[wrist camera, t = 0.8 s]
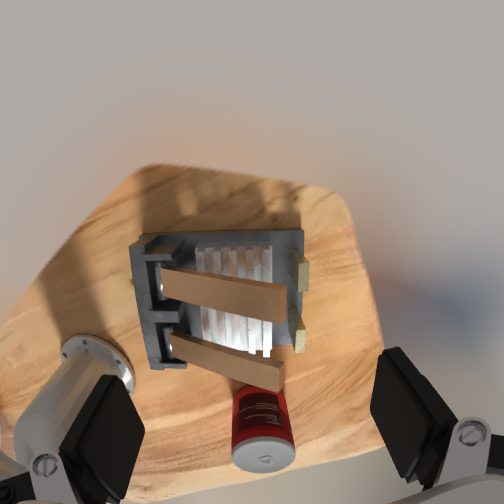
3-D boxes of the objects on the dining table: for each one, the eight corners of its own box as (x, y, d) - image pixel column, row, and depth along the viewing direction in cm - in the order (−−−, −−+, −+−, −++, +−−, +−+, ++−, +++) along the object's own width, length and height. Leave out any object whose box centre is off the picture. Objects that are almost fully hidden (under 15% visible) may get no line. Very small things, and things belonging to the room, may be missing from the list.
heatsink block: (297, 337, 36) (308, 370, 29) (158, 339, 36) (143, 371, 29) (301, 228, 33) (316, 241, 26) (143, 233, 32) (120, 248, 25)
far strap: (283, 389, 24) (277, 397, 23) (172, 352, 30) (165, 357, 29) (284, 356, 23) (278, 364, 22) (167, 322, 29) (160, 327, 28)
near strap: (285, 323, 23) (279, 330, 22) (163, 294, 29) (155, 298, 28) (287, 278, 22) (280, 283, 21) (159, 258, 28) (150, 261, 27)
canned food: (256, 424, 40) (260, 479, 30) (221, 398, 39) (217, 456, 28) (296, 401, 39) (309, 457, 28) (261, 372, 37) (268, 432, 27)
